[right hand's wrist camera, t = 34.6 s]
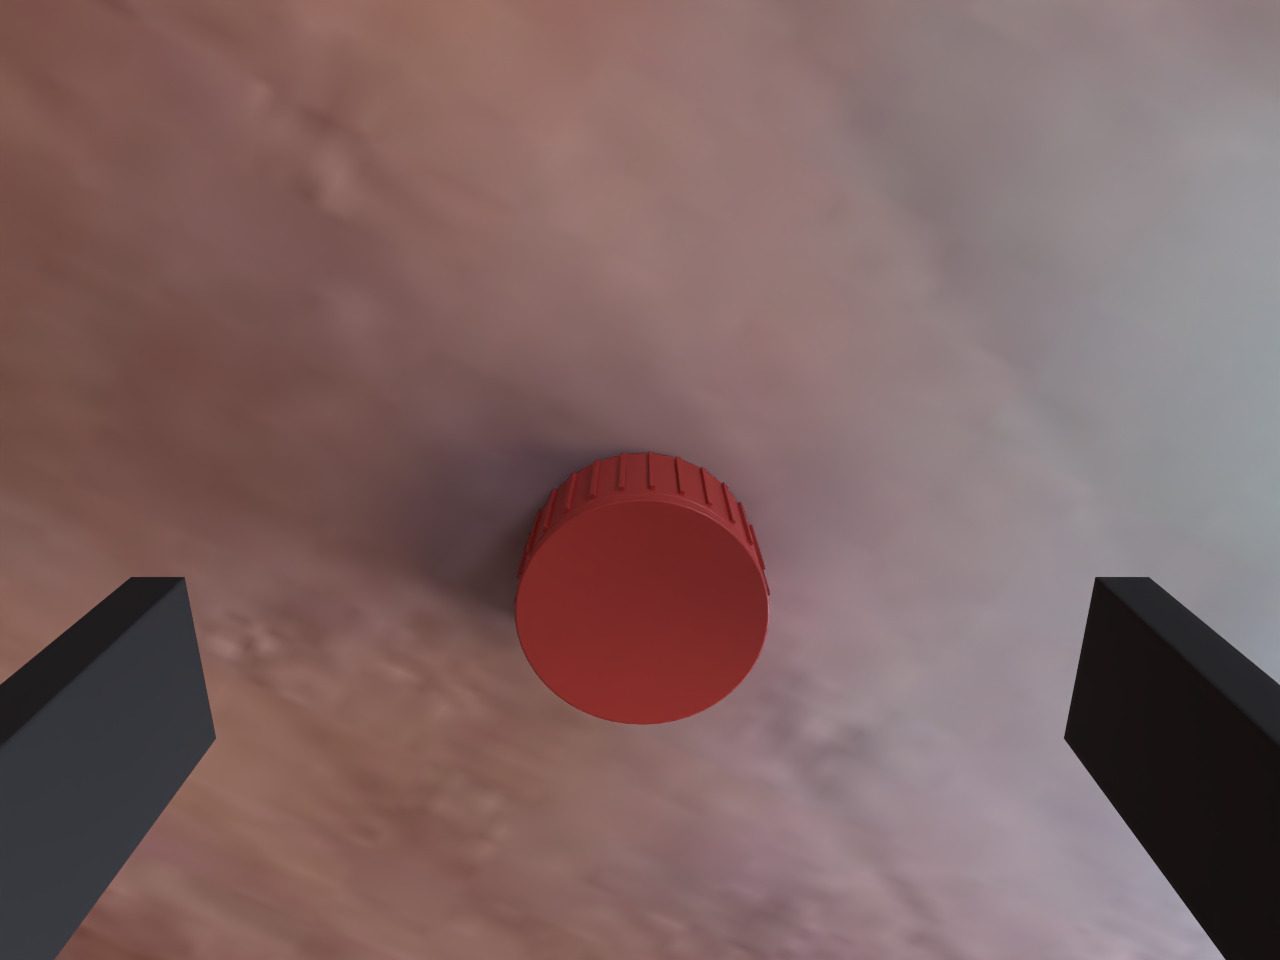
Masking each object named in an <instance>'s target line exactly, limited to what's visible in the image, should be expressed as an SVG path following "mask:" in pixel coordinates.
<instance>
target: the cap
mask: <svg viewBox="0 0 1280 960" xmlns="http://www.w3.org/2000/svg"><path fill="white" fill-rule="evenodd" d="M764 569H765V566H764V562H763V559H762V556H761V552H760V549H759V546H758V543H757V539H756V536H755V533H754V529H753V526H752V525H748V521H747V518H746V514H745V511H744V508H743V505H742V503H741V502H740V503H737V501H736V500H735V498H734V497H733V495H732V494H731V493H730V492H729V491H728V488H727V485H726V484H725V483H724V482H723V483H722V484H721V483H720V482H719V481H718V480H717V479H715V478H714V477H713V476H712V475H710V474H709V473H707V472H706V469H705V468H703V467H701V468H699V467H697V466H695V465H693V464H691V463H688V462H686V461H683V460H681V458H680V457H677V456H676V458H674V457H670V456H665V455H659V454H654V452H649V454H647V453H636V454H626V453H621V455H620V456H615V457H610V458H607V459H604V460H601V461H599V459H598V460H596V461H594V463H593V464H591V465H589V466H587V467H585V468H583V469H582V470H580V471H579V472H577V473H575V472H573V473H571V475H570V478H569V479H568V480H566V481H565V482H564V483H563V484H562V485H561V486H560V487H559V488H558V489H557V490H555V489H553V490H552V492H551V495H550V498H549V500H548V501H547V503H546V504H545V506H544V507H543V509H542V511H541V510H538V512H537V515H536V518H535V522H534V525H533V529H532V532H531V533H529V537H528V540H527V544H526V547H525V550H524V554H523V557H522V561H521V564H520V568H519V571H518V575H517V578H519V579H520V582H519V585H518V589H517V594H516V597H515V621H516V628H517V634H518V637H519V640H520V644H521V647H522V649H523V651H524V654H525V656H526V658H527V660H528V662H529V663H530V665H531V667H532V668H533V670H534V671H535V673H536V674H537V675H538V677H539V678H540V679H541V680H542V681H543V682H544V684H545V685H546V686H547V687H548V688H549V689H551V690H552V691H553V692H554V693H555V694H556V695H557V696H559V697H560V698H561V699H563V700H564V701H566V702H567V703H568V704H570V705H572V706H574V707H576V708H577V709H579V710H581V711H583V712H586V713H588V714H590V715H593V716H595V717H598V718H602V719H606V720H609V721H613V722H620V723H626V724H659V723H665V722H670V721H676V720H679V719H682V718H686V717H689V716H692V715H694V714H696V713H699V712H701V711H703V710H705V709H707V708H709V707H711V706H712V705H714V704H716V703H718V702H719V701H720V700H722V699H723V698H724V697H726V696H727V695H728V694H730V693H731V692H732V691H733V690H734V689H735V688H736V687H737V686H738V685H739V684H740V683H741V682H742V681H743V679H744V678H745V677H746V676H747V675H748V673H749V672H750V671H751V669H752V667H753V666H754V664H755V662H756V661H757V659H758V657H759V655H760V653H761V650H762V648H763V646H764V642H765V639H766V635H767V631H768V624H769V616H770V615H769V598H768V596H769V595H770V591H769V587H768V584H767V581H766V577H765V574H764V571H763V570H764Z"/></svg>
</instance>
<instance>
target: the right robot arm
mask: <svg viewBox="0 0 1280 960" xmlns="http://www.w3.org/2000/svg"><path fill="white" fill-rule="evenodd" d="M215 739H216V736H215V731H214V725H213V720H212V715H211V710H210V705H209V700H208V695H207V690H206V685H205V679H204V674H203V669H202V664H201V659H200V654H199V649H198V644H197V639H196V633H195V628H194V623H193V618H192V613H191V608H190V603H189V598H188V593H187V587H186V582H185V577H131V578H130V579H128V580H127V581H126V582H125V583H123V584H122V585H121V586H120V587H119V588H117V589H116V590H115V591H114V592H113V593H111V594H110V595H109V596H108V597H106V598H105V599H104V600H103V601H102V602H100V603H99V604H98V605H97V606H96V607H94V608H93V609H92V610H91V611H89V612H88V613H87V614H86V615H85V616H83V617H82V618H81V619H80V620H79V621H77V622H76V623H75V624H74V625H72V626H71V627H70V628H69V629H68V630H66V631H65V632H64V633H63V634H62V635H60V636H59V637H58V638H57V639H55V640H54V641H53V642H52V643H51V644H49V645H48V646H47V647H46V648H45V649H43V650H42V651H41V652H40V653H38V654H37V655H36V656H35V657H34V658H32V659H31V660H30V661H29V662H28V663H26V664H25V665H24V666H23V667H22V668H20V669H19V670H18V671H17V672H15V673H14V674H13V675H12V676H11V677H9V678H8V679H7V680H6V681H5V682H3V683H2V684H1V685H0V960H54V959H55V958H56V957H57V955H58V954H59V953H60V951H61V950H62V948H63V947H64V946H65V944H66V943H67V942H68V940H69V939H70V937H71V936H72V935H73V933H74V932H75V931H76V929H77V928H78V927H79V925H80V924H81V922H82V921H83V920H84V918H85V917H86V916H87V914H88V913H89V911H90V910H91V909H92V907H93V906H94V905H95V903H96V902H97V901H98V899H99V898H100V896H101V895H102V894H103V892H104V891H105V890H106V888H107V887H108V885H109V884H110V883H111V881H112V880H113V879H114V877H115V876H116V875H117V873H118V872H119V870H120V869H121V868H122V866H123V865H124V864H125V862H126V861H127V859H128V858H129V857H130V855H131V854H132V853H133V851H134V850H135V848H136V847H137V846H138V844H139V843H140V842H141V840H142V839H143V838H144V836H145V835H146V833H147V832H148V831H149V829H150V828H151V827H152V825H153V824H154V822H155V821H156V820H157V818H158V817H159V816H160V814H161V813H162V812H163V810H164V809H165V807H166V806H167V805H168V803H169V802H170V801H171V799H172V798H173V796H174V795H175V794H176V792H177V791H178V790H179V788H180V787H181V786H182V784H183V783H184V781H185V780H186V779H187V777H188V776H189V775H190V773H191V772H192V770H193V769H194V768H195V766H196V765H197V764H198V762H199V761H200V760H201V758H202V757H203V755H204V754H205V753H206V751H207V750H208V749H209V747H210V746H211V744H212V743H213V742H214V740H215ZM1064 739H1065V740H1066V742H1067V743H1068V744H1069V746H1070V747H1071V749H1072V750H1073V751H1074V753H1075V754H1076V755H1077V757H1078V758H1079V760H1080V761H1081V762H1082V764H1083V765H1084V766H1085V768H1086V769H1087V770H1088V772H1089V773H1090V775H1091V776H1092V777H1093V779H1094V780H1095V781H1096V783H1097V784H1098V786H1099V787H1100V788H1101V790H1102V791H1103V792H1104V794H1105V795H1106V796H1107V798H1108V799H1109V801H1110V802H1111V803H1112V805H1113V806H1114V807H1115V809H1116V810H1117V812H1118V813H1119V814H1120V816H1121V817H1122V818H1123V820H1124V821H1125V823H1126V824H1127V825H1128V827H1129V828H1130V829H1131V831H1132V832H1133V833H1134V835H1135V836H1136V838H1137V839H1138V840H1139V842H1140V843H1141V844H1142V846H1143V847H1144V849H1145V850H1146V851H1147V853H1148V854H1149V855H1150V857H1151V858H1152V859H1153V861H1154V862H1155V864H1156V865H1157V866H1158V868H1159V869H1160V870H1161V872H1162V873H1163V875H1164V876H1165V877H1166V879H1167V880H1168V881H1169V883H1170V884H1171V885H1172V887H1173V888H1174V890H1175V891H1176V892H1177V894H1178V895H1179V896H1180V898H1181V899H1182V901H1183V902H1184V903H1185V905H1186V906H1187V907H1188V909H1189V910H1190V911H1191V913H1192V914H1193V916H1194V917H1195V918H1196V920H1197V921H1198V922H1199V924H1200V925H1201V927H1202V928H1203V929H1204V931H1205V932H1206V933H1207V935H1208V936H1209V937H1210V939H1211V940H1212V942H1213V943H1214V944H1215V946H1216V947H1217V948H1218V950H1219V951H1220V953H1221V954H1222V955H1223V957H1224V958H1225V959H1226V960H1280V685H1279V684H1278V683H1277V682H1275V681H1274V680H1273V679H1272V678H1271V677H1269V676H1268V675H1267V674H1266V673H1265V672H1263V671H1262V670H1261V669H1260V668H1258V667H1257V666H1256V665H1255V664H1254V663H1252V662H1251V661H1250V660H1249V659H1248V658H1246V657H1245V656H1244V655H1243V654H1241V653H1240V652H1239V651H1238V650H1237V649H1235V648H1234V647H1233V646H1232V645H1231V644H1229V643H1228V642H1227V641H1226V640H1225V639H1223V638H1222V637H1221V636H1220V635H1218V634H1217V633H1216V632H1215V631H1214V630H1212V629H1211V628H1210V627H1209V626H1208V625H1206V624H1205V623H1204V622H1203V621H1201V620H1200V619H1199V618H1198V617H1197V616H1195V615H1194V614H1193V613H1192V612H1191V611H1189V610H1188V609H1187V608H1186V607H1184V606H1183V605H1182V604H1181V603H1180V602H1178V601H1177V600H1176V599H1175V598H1174V597H1172V596H1171V595H1170V594H1169V593H1167V592H1166V591H1165V590H1164V589H1163V588H1161V587H1160V586H1159V585H1158V584H1157V583H1155V582H1154V581H1153V580H1152V579H1150V578H1149V577H1095V582H1094V587H1093V593H1092V598H1091V603H1090V608H1089V613H1088V618H1087V623H1086V628H1085V633H1084V639H1083V644H1082V649H1081V654H1080V659H1079V664H1078V669H1077V674H1076V679H1075V685H1074V690H1073V695H1072V700H1071V705H1070V710H1069V715H1068V720H1067V725H1066V731H1065V736H1064Z"/></svg>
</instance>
